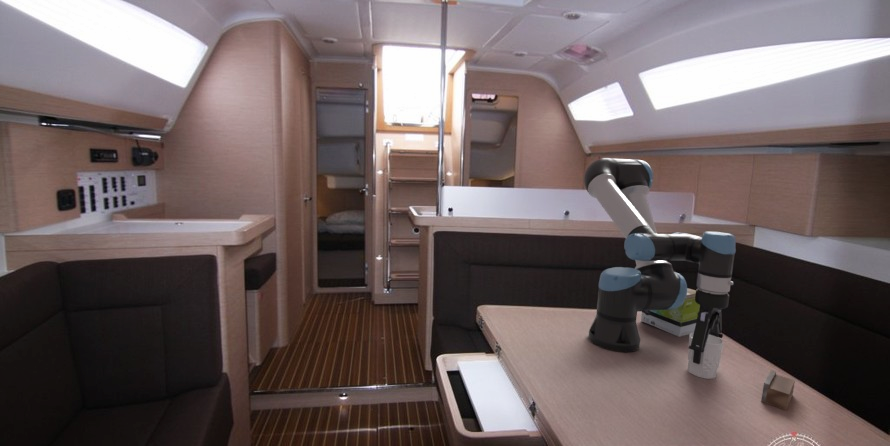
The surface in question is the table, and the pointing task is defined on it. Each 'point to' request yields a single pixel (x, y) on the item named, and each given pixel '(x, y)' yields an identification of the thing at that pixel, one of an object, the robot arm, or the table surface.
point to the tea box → (675, 317)
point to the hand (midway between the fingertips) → (703, 366)
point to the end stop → (777, 390)
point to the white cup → (708, 356)
